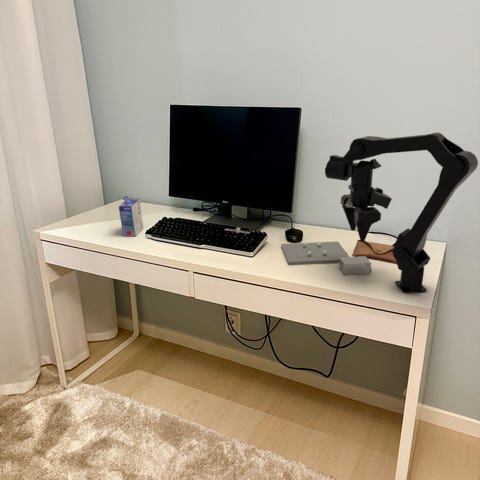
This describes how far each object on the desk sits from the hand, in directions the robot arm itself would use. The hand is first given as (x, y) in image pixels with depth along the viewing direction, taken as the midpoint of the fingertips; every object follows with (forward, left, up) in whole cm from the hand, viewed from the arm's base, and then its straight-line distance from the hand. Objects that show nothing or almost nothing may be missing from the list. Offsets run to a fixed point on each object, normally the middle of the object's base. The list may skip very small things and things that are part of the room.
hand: (357, 235), depth 128 cm
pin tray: (+15, +9, -12) cm, 21 cm away
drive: (0, 0, -12) cm, 12 cm away
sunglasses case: (+11, -11, -12) cm, 20 cm away
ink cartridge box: (+45, +74, -12) cm, 87 cm away
